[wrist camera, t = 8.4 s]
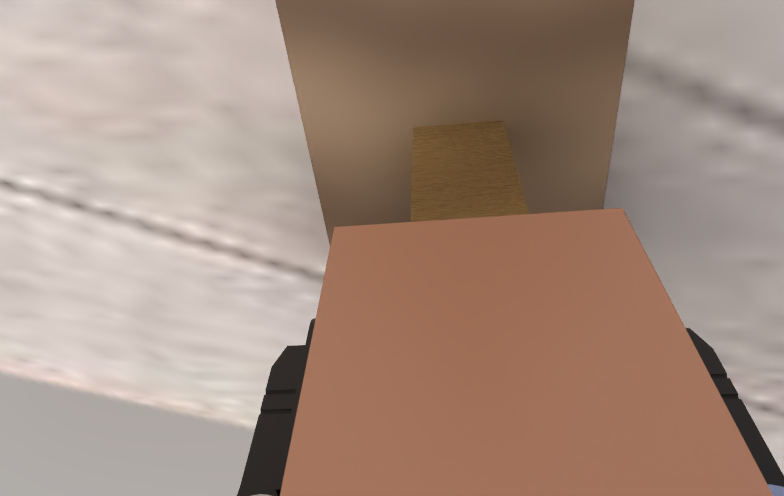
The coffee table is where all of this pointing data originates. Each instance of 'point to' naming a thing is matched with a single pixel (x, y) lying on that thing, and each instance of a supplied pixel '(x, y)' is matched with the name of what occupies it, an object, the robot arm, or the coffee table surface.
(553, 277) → the salmon pink cube
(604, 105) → the board
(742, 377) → the coffee table surface
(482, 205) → the brass post
